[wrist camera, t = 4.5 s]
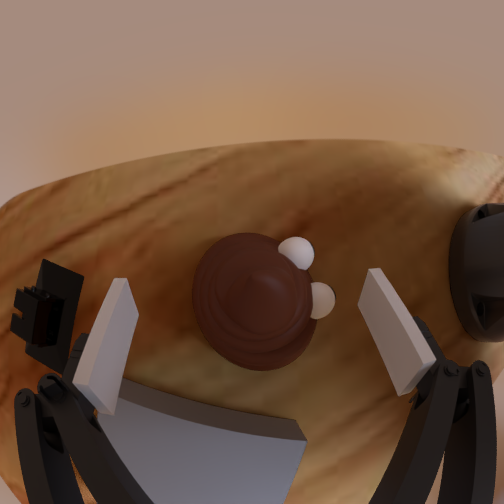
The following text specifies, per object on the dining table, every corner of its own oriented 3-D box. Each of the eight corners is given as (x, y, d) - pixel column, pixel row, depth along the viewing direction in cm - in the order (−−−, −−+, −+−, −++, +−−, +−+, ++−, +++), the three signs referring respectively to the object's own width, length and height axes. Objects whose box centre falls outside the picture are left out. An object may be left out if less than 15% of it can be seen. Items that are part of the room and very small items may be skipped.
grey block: (295, 420, 19) (307, 441, 15) (254, 529, 16) (257, 554, 12) (122, 377, 18) (100, 389, 14) (112, 494, 15) (97, 514, 12)
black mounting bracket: (46, 242, 21) (17, 228, 16) (103, 262, 21) (76, 250, 16) (22, 361, 18) (-8, 366, 14) (76, 395, 18) (48, 408, 14)
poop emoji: (177, 263, 21) (135, 229, 12) (279, 220, 22) (306, 160, 13) (231, 383, 19) (228, 437, 10) (332, 335, 20) (396, 350, 11)
